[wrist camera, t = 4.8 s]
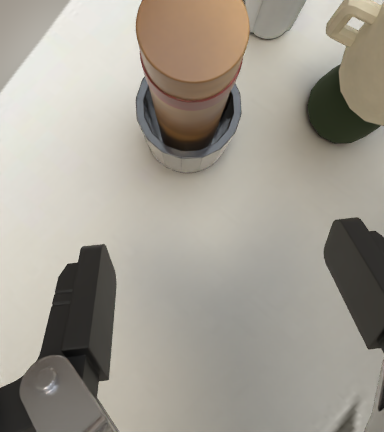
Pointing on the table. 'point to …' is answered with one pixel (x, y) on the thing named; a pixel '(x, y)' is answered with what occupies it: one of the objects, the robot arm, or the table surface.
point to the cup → (192, 158)
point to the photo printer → (272, 16)
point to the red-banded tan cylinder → (191, 64)
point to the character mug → (352, 76)
